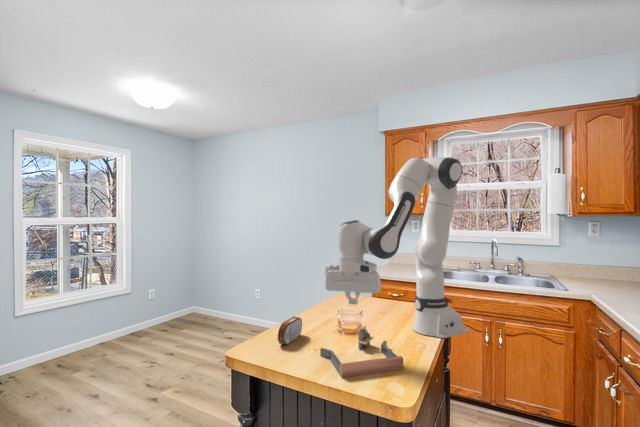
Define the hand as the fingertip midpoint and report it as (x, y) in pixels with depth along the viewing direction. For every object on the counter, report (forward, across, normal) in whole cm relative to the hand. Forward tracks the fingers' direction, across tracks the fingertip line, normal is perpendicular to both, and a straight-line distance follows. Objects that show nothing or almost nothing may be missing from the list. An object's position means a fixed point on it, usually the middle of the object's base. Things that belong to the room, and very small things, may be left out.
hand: (353, 303), depth 117 cm
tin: (+16, -26, -2) cm, 30 cm away
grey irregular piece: (+17, +2, +3) cm, 18 cm away
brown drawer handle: (+16, +6, -9) cm, 20 cm away
